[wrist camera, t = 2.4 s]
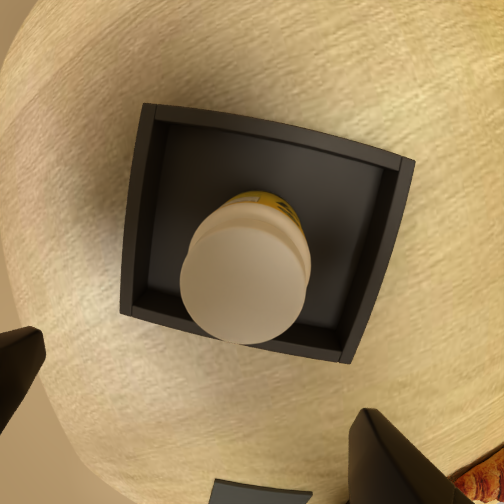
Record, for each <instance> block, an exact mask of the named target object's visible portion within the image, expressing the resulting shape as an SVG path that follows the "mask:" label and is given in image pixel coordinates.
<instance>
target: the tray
mask: <svg viewBox="0 0 504 504" xmlns="http://www.w3.org/2000/svg"><path fill="white" fill-rule="evenodd" d="M415 163H416V162H415V160H412V159H409V158H407V157H404V156H401V155H398V154H395V153H392V152H389V151H386V150H382V149H379V148H376V147H373V146H369V145H366V144H363V143H359V142H356V141H352V140H349V139H345V138H341V137H338V136H334V135H330V134H326V133H322V132H318V131H314V130H310V129H306V128H302V127H297V126H293V125H288V124H284V123H279V122H274V121H269V120H264V119H259V118H254V117H248V116H243V115H237V114H231V113H225V112H218V111H211V110H204V109H197V108H189V107H181V106H172V105H162V104H151V103H143V105H142V110H141V115H140V120H139V126H138V131H137V137H136V142H135V148H134V154H133V161H132V167H131V174H130V182H129V189H128V197H127V206H126V215H125V225H124V236H123V249H122V264H121V284H120V314H123V315H127V316H130V317H131V316H132V317H134V318H137V319H141V320H144V321H148V322H151V323H155V324H159V325H162V326H166V327H170V328H173V329H177V330H181V331H185V332H189V333H193V334H197V335H201V336H205V337H209V338H213V339H217V340H221V339H218V338H216V337H214V336H212V335H210V334H209V333H207V332H206V331H205V330H203V329H202V328H201V327H200V326H199V325H198V324H197V323H196V322H195V321H194V320H193V319H192V317H191V316H190V314H189V313H188V311H187V309H186V307H185V305H184V303H183V300H182V297H181V291H180V274H181V269H182V265H183V263H184V260H185V258H186V256H187V255H188V250H189V246H190V243H191V240H192V238H193V236H194V234H195V232H196V230H197V229H198V227H199V226H200V224H201V223H202V222H203V221H204V220H205V219H206V218H207V217H208V216H209V215H211V214H212V213H213V212H214V211H216V210H217V209H218V208H219V207H221V206H222V205H223V204H225V203H226V202H227V201H228V200H230V199H231V198H233V197H234V196H236V195H238V194H240V193H242V192H246V191H250V190H264V191H269V192H272V193H275V194H277V195H279V196H280V197H282V198H283V199H285V200H286V201H287V202H288V203H289V204H290V205H291V206H292V208H293V209H294V211H295V212H296V214H297V216H298V218H299V220H300V223H301V226H302V229H303V232H304V235H305V238H306V241H307V244H308V247H309V252H310V256H311V272H310V278H309V282H308V285H307V287H306V295H305V301H304V304H303V307H302V309H301V312H300V314H299V315H298V317H297V318H296V320H295V321H294V323H293V324H292V325H291V326H290V327H289V328H288V329H287V330H286V331H284V332H283V333H282V334H280V335H279V336H277V337H275V338H273V339H271V340H268V341H265V342H262V343H256V344H240V345H244V346H249V347H254V348H258V349H263V350H268V351H273V352H279V353H284V354H289V355H295V356H300V357H306V358H312V359H318V360H324V361H331V362H339V363H344V364H351V362H352V360H353V357H354V355H355V353H356V350H357V348H358V345H359V343H360V341H361V338H362V336H363V333H364V331H365V328H366V325H367V323H368V320H369V318H370V315H371V312H372V310H373V307H374V304H375V301H376V299H377V296H378V293H379V290H380V287H381V284H382V282H383V279H384V276H385V273H386V270H387V266H388V263H389V260H390V257H391V254H392V251H393V247H394V244H395V241H396V237H397V234H398V230H399V227H400V223H401V220H402V216H403V212H404V209H405V205H406V201H407V197H408V193H409V189H410V185H411V180H412V176H413V172H414V167H415ZM222 341H223V340H222Z"/></svg>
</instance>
